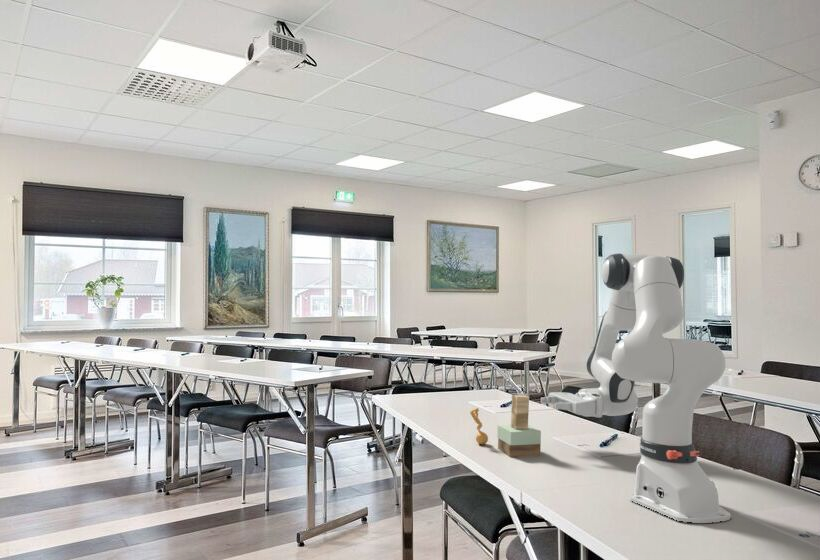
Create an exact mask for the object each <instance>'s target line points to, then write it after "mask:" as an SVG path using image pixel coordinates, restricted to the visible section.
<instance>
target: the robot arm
mask: <svg viewBox="0 0 820 560" xmlns="http://www.w3.org/2000/svg"><path fill="white" fill-rule="evenodd" d="M601 277H602V280H603V283H604V285H605V286H606V287H607V288H608V289H611V294H610V298H609V303H608V307H607V311H605V312H604V314H603V316H602V319H601V321H600V325H599V329H598V332H597V336H596V340H595V343H594V346H593V349H592V351H591V353H590V354H589V356H588V359H587V361H586V369H587V372H588V374H589V375H590V376H591V377H593V378H594V380H596V381H597V382H598V383H599V384H600V385H599V387H598V388H596V387H595V388H594V387H593V388H589V387H588V388H581V389H579V390H578V392H576V393H575V394H574V393H571V392H565V391H564V392H559V391H558V392H557V391H555V392H553V391H552V392H548V396H546V397H545V396H544V397H540V403H541V404H545V405H547V404H550V405H553V409H555V410H564V411H568V412H571V413H573V414H575V415H579V416H582V417H588V418H589V417H593V418H596V419H597V418H602V417H603V416H610V417H613V416H614V417H617V416H625V415H628V414H629V415H630V414H631V413H633V412H635V410H636V409H637V407H638V403H639V398H638V395H637V393H636V392H635V383H645V384H667V388H666V389H665V392H664V393H663V394H661V395H659V396H657V397H654V398H653V399H651V400H649V401H647V402H646V404H645V405H644V406H643V408H642V427H641V428H642V433H641V434H642V436H641V438H640V443H639V452H640V454H641V457H640V460H639V462H638V464H637V465H636V471H635V481H634V489H633V490H634V492H633V494H631V495H630V498H629V501H630V502H632V501H633V502H632V503H635V504H637V503H638V504H637V505H639V504H640V505H639V506H641V505H642V507H644V506H645V507H644V508H646V507H647V508H646V509H648V508H650V509H649V510H651V509H652V510H651V511H653V510H654V511H653V512H655V511H657V512H659V513H658V514H660V513H661V514H660V515H662V514H663V515H662V516H664V515H666V516H668V517H667V518H669V517H670V518H669V519H671V518H673V519H674V520H673V519H672V520H673V521H676V520H677V521H676V522H679V521H683V522H682V523H687V522H692V523H691V524H709V523H710V524H711V523H712V522H713V523H721V522H720V521H722V522H726V521H729V520H730V518H731V519H732V514H731V513H730V512H729V511H728V510H726V509H724V508H723V507H722V506H720V504H719V492H718V489H717V487H716V484H715V482H714V481H713V480H711V479H710V478H709V477H708V475H707V474H706V473H705V471H704V469H702V467H701V466H700V465H699V463H698V457H699V456H700V454H699V453H700V451H699V450H696V448H695V445H694V443H693V437H692V435H693V421H694V412H695V409H696V405H697V403H698V401H699V399H700V398H701V396H702V395H703V394H704V392H705V391H706V390H708V388H710V387H711V386H712V385H713V384H715V383H717V382H718V381H719V380H720V379H721V378H722V376H723V375H724V373H725V370H726V357H725V354H724V353H723V351H722V349H721V348H720V347H719V346H718V345H717V344H716V343H713V342H710V341H705V340H701V339H695V338H694V339H692V338H668V337H664V334H666V333H668V332H671V331H673V330H674V329H676V328H677V327H678V326H679V325H681V323H682V321H683V319H684V314H685V313H684V308H683V307H684V306H683V302H682V298H681V292H680V289H681V287H682V286H683V285H684V284H683V283H684V279H685V269H684V264H683V263H682V262H681V261H680V259H678V258H676V257H672V256H669V255H668V256H660V255H653V254H645V253H624V254H622V253H619V252H618V253H613V254H609V255H608V256H607V257H606V258H605V260H604V263H603V265H602V269H601ZM621 331H626V332H627V331H630V332H629V334H628V335H627V336H625V337H624V338H622V339H620V340H619V342H618V343H617V344H616V342H617V340H618V337H619V333H620V332H621ZM657 512H656V513H657ZM666 516H665V517H666Z"/></svg>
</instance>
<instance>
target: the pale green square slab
mask: <svg viewBox="0 0 820 560" xmlns="http://www.w3.org/2000/svg"><path fill="white" fill-rule="evenodd" d="M496 437H497V439H498V438H499V439H500V440H502V441H504V442H506V443H507V444H509V445H529V444H541V443H542V442H541V441H542V430H540V429H538V428H536V427H534V426H532V425H529V424H528V429H514V428H513V427H511V424H498V425H497V435H496Z"/></svg>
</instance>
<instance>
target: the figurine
mask: <svg viewBox="0 0 820 560" xmlns="http://www.w3.org/2000/svg"><path fill="white" fill-rule="evenodd" d="M479 411H480V410H479V408H478V407H476V408H473V409H471V410H470V412H469V414H470V416H471V418H473V420H474V422H475V423H476V424H477V426H476V430H477V431H478V433H477V434H476V436H475V441H476V443H477V444H479V445H482V446H483V445H486V444H487V443H488V441H489V437H488V434H487V433H486V432H484V431H482V430H480V429H481V428H482V427H483V422H481V420H480V419H479Z"/></svg>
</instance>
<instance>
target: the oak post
mask: <svg viewBox="0 0 820 560" xmlns="http://www.w3.org/2000/svg"><path fill="white" fill-rule="evenodd" d="M529 407H530V396H528V395H525V394H511V410H510V411H511V414H510V417H511V418H510V425H511V427H513V428H514V429H528V425H529V411H530V410H529V409H530V408H529Z"/></svg>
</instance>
